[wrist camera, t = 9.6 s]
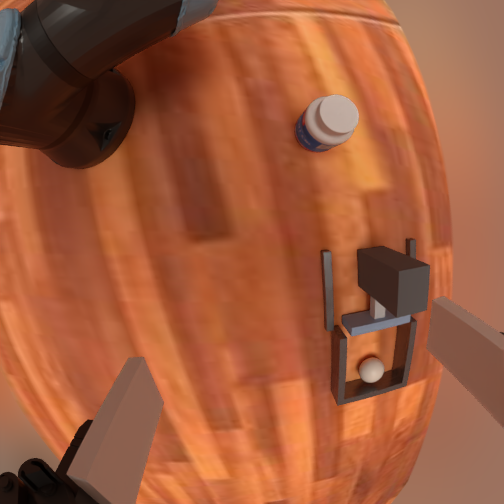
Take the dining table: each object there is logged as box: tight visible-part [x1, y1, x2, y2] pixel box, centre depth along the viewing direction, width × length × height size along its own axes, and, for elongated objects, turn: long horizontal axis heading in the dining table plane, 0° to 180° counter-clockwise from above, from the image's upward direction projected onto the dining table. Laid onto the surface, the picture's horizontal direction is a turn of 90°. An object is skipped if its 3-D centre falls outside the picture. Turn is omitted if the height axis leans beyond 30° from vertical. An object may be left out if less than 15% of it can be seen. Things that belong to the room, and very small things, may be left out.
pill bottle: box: [295, 95, 359, 152], centre depth 28 cm, size 6×5×10 cm
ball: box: [359, 357, 384, 383], centre depth 37 cm, size 4×4×4 cm
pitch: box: [321, 238, 417, 406], centre depth 36 cm, size 23×14×4 cm, turn 7°
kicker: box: [342, 246, 430, 336], centre depth 31 cm, size 10×9×11 cm
